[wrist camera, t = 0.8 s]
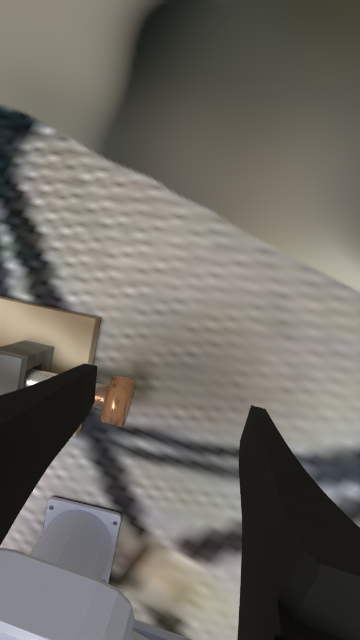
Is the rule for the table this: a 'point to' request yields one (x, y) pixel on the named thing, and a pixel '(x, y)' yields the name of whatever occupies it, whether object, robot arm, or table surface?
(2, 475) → the robot arm
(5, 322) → the bearing board
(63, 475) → the table surface
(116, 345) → the table surface
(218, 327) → the table surface
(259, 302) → the table surface
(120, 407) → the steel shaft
